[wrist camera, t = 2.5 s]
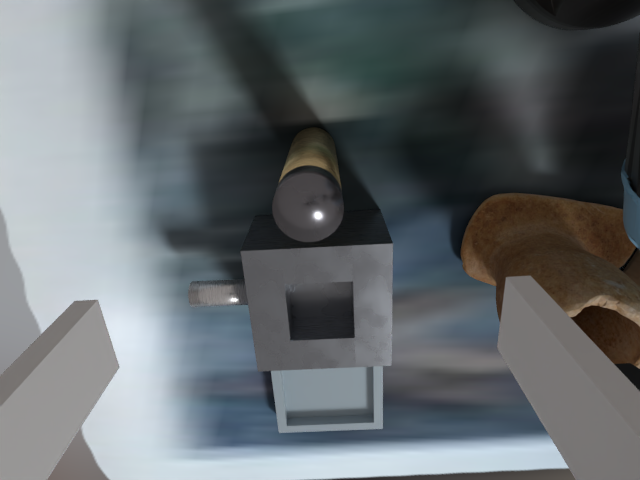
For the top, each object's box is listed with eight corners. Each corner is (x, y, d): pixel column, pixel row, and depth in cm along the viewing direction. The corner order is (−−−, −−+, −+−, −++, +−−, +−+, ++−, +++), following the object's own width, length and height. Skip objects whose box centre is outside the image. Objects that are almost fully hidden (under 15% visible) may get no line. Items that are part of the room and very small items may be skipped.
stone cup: (440, 287, 44) (493, 393, 30) (478, 177, 39) (562, 243, 26) (577, 310, 45) (690, 422, 31) (630, 206, 40) (790, 284, 27)
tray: (270, 335, 46) (267, 348, 44) (380, 330, 46) (382, 343, 44) (280, 417, 51) (278, 432, 49) (380, 413, 51) (382, 428, 49)
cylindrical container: (289, 128, 38) (268, 176, 23) (334, 126, 37) (342, 172, 23) (292, 172, 39) (275, 243, 25) (336, 170, 39) (345, 240, 24)
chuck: (193, 219, 41) (165, 255, 34) (380, 209, 41) (392, 243, 33) (212, 323, 46) (192, 374, 38) (380, 315, 45) (391, 365, 38)
